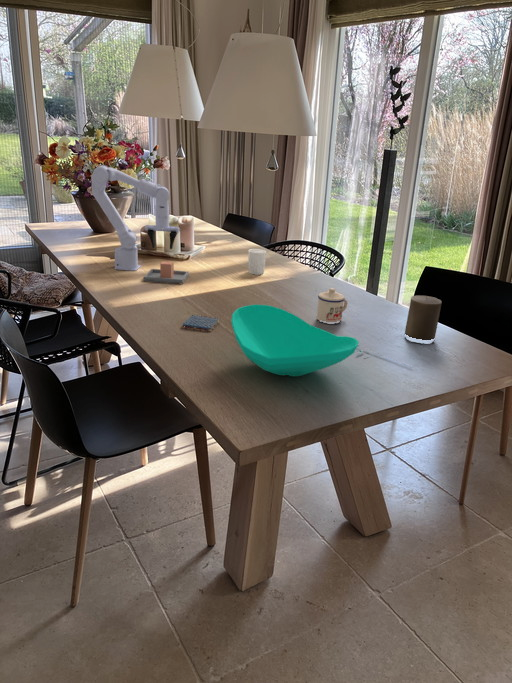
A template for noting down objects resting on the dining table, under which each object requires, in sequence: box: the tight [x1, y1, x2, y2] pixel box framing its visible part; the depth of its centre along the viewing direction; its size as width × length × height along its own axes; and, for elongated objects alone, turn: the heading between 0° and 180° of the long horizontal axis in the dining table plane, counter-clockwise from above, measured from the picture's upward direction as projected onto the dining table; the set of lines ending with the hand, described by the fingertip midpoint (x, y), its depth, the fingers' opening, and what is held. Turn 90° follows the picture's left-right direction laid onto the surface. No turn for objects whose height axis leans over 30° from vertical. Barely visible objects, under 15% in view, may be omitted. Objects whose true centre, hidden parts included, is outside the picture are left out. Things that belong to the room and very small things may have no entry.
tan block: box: [159, 260, 175, 278], centre depth 231 cm, size 4×4×6 cm
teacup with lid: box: [316, 287, 348, 322], centre depth 193 cm, size 12×9×12 cm
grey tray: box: [143, 268, 190, 285], centre depth 232 cm, size 16×13×2 cm
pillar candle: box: [404, 295, 442, 340], centre depth 180 cm, size 10×10×15 cm
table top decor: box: [231, 304, 360, 377], centre depth 152 cm, size 40×28×13 cm
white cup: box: [247, 248, 267, 276], centre depth 246 cm, size 8×8×10 cm
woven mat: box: [180, 314, 220, 333], centre depth 183 cm, size 10×11×2 cm
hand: (162, 247), depth 242 cm, fingers open, 7 cm apart
